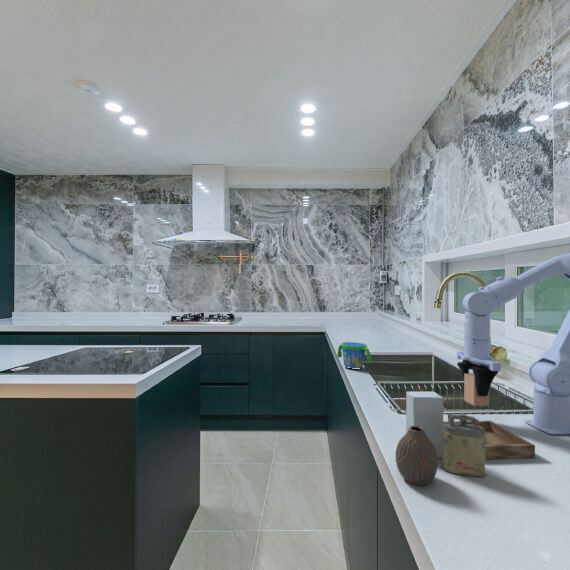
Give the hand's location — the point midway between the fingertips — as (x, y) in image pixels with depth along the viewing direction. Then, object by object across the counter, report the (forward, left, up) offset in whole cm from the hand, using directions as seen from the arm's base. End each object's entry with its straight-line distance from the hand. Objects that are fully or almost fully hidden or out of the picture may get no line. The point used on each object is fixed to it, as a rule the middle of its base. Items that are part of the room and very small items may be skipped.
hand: (476, 393), depth 88 cm
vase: (+28, +25, -7) cm, 38 cm away
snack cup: (+14, -60, -7) cm, 62 cm away
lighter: (+18, +23, -7) cm, 30 cm away
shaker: (0, 0, -3) cm, 2 cm away
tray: (+7, +12, -7) cm, 16 cm away
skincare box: (+22, +16, -7) cm, 28 cm away
